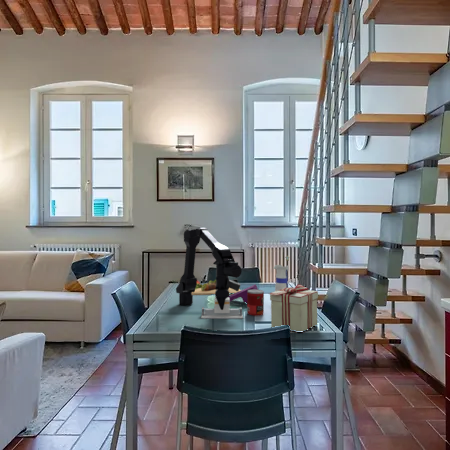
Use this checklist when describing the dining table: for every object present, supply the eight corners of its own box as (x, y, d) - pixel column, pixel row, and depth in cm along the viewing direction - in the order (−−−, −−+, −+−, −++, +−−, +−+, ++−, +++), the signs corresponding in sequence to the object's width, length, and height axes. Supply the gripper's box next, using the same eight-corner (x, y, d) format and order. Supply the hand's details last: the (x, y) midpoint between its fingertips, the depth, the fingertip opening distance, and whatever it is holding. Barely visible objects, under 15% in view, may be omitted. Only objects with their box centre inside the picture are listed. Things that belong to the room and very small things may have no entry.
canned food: (259, 316, 180) (259, 293, 180) (244, 314, 184) (244, 291, 184) (266, 313, 187) (266, 290, 186) (251, 311, 191) (251, 288, 191)
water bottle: (276, 298, 220) (277, 254, 220) (291, 299, 216) (291, 255, 215) (271, 300, 213) (271, 255, 213) (285, 302, 209) (286, 256, 208)
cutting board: (183, 296, 227) (183, 283, 227) (182, 288, 250) (182, 277, 250) (242, 295, 231) (242, 282, 231) (236, 287, 255) (236, 276, 254)
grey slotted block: (214, 312, 178) (214, 299, 178) (214, 309, 184) (214, 297, 184) (229, 313, 178) (229, 300, 178) (229, 309, 184) (229, 297, 184)
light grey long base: (201, 318, 177) (201, 310, 176) (202, 313, 186) (202, 305, 185) (242, 318, 177) (242, 310, 177) (241, 313, 186) (241, 305, 186)
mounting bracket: (229, 314, 206) (259, 302, 202) (222, 300, 207) (252, 287, 203) (233, 310, 215) (262, 298, 211) (226, 296, 216) (255, 284, 212)
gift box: (280, 318, 177) (280, 281, 176) (318, 325, 166) (319, 285, 166) (261, 327, 163) (262, 286, 162) (302, 335, 152) (303, 292, 152)
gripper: (240, 278, 172) (240, 313, 172) (238, 272, 190) (238, 303, 191) (215, 278, 171) (215, 313, 172) (215, 271, 190) (215, 303, 190)
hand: (221, 308), depth 181 cm, fingers closed on grey slotted block, 6 cm apart
